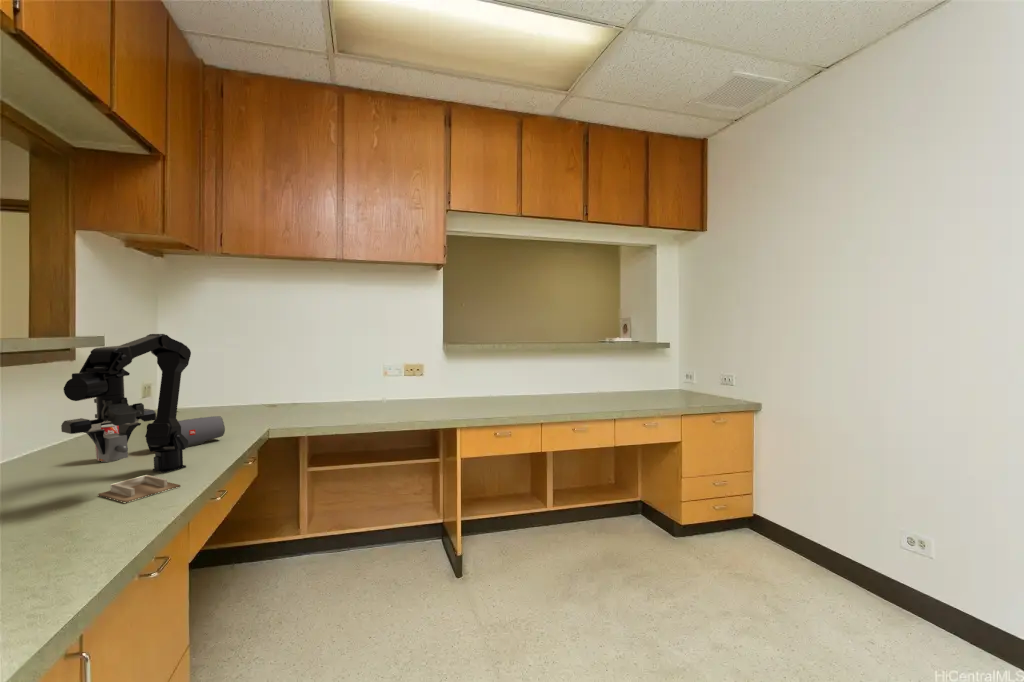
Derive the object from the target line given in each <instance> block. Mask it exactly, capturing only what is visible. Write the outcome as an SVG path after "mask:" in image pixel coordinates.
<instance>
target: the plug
mask: <svg viewBox="0 0 1024 682" xmlns="http://www.w3.org/2000/svg"><path fill="white" fill-rule="evenodd" d="M103 436H104V444H105V454H104V455H102V454H101V453H100V451H99V450H98V459H102V460H106V461H111V462H115V461H114V460H116V461H118V459H119V460H122V459H127V458H129V454H128V453H129V452H128V451H129V448H128V443H127V435H123V434H118V433H113V434H108V435H103Z"/></svg>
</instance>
